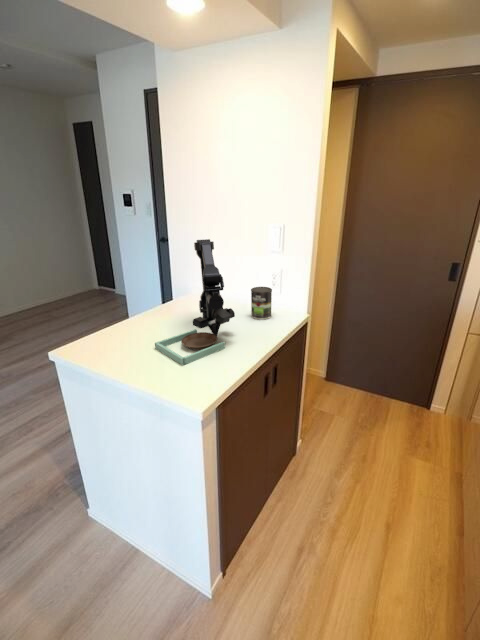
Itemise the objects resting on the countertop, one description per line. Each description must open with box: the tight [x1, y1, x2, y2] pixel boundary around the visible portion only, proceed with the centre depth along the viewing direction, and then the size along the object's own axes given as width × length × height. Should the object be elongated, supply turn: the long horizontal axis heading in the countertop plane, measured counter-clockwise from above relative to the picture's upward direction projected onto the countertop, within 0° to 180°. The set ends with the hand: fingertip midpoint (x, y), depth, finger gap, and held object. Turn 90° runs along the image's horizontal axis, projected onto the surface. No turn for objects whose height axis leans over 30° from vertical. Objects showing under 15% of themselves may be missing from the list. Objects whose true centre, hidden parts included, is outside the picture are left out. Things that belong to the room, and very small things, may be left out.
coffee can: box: [250, 286, 273, 321], centre depth 165 cm, size 10×10×14 cm
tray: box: [154, 328, 226, 366], centre depth 134 cm, size 20×20×2 cm
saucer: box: [180, 331, 218, 351], centre depth 137 cm, size 15×15×3 cm
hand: (215, 336), depth 142 cm, fingers closed
